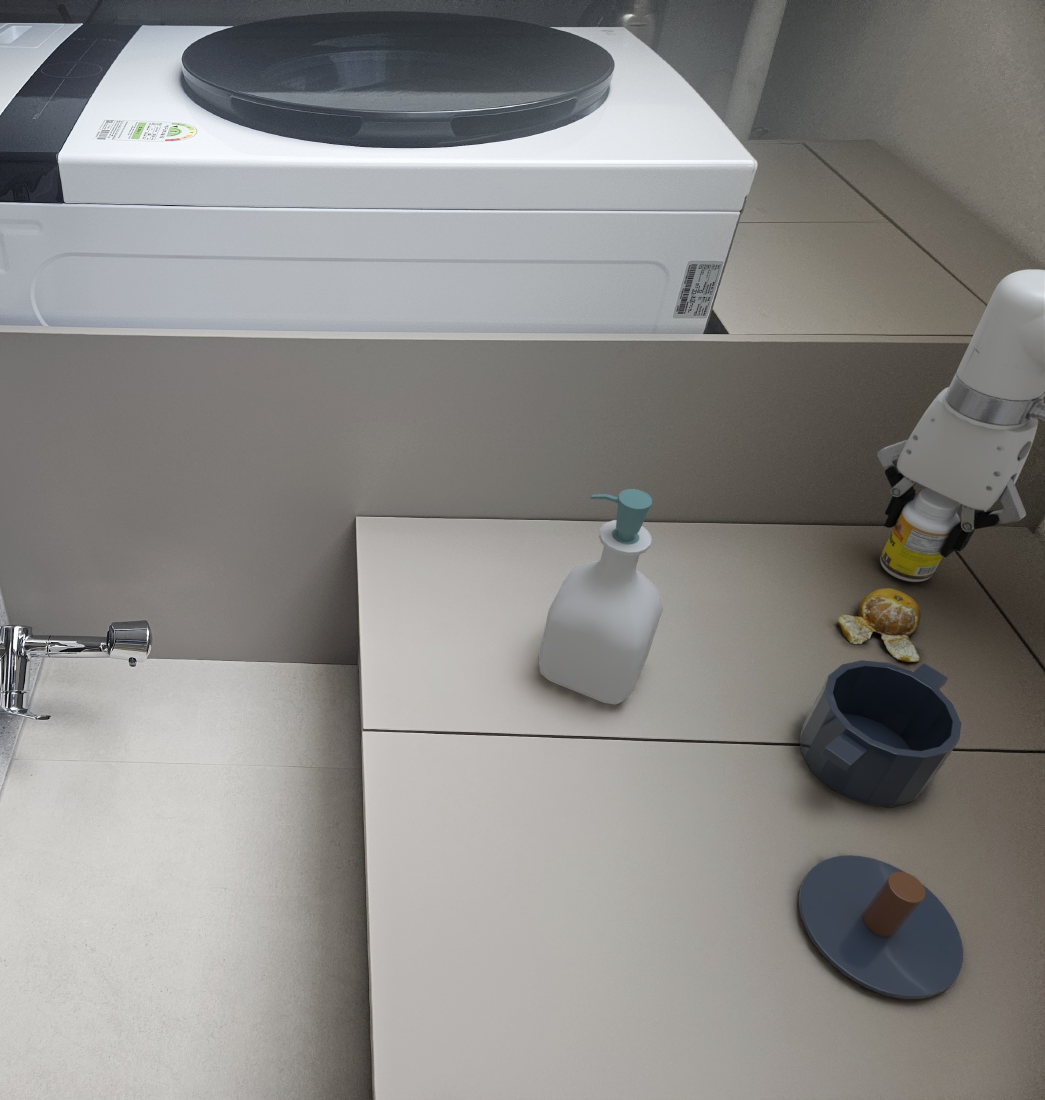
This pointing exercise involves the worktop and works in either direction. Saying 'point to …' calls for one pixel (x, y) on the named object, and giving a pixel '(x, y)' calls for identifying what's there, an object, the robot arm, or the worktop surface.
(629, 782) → the worktop surface
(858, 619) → the fruit
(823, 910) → the lid
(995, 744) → the worktop surface
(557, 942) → the worktop surface
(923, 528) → the supplement bottle
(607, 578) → the soap bottle
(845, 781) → the pot
